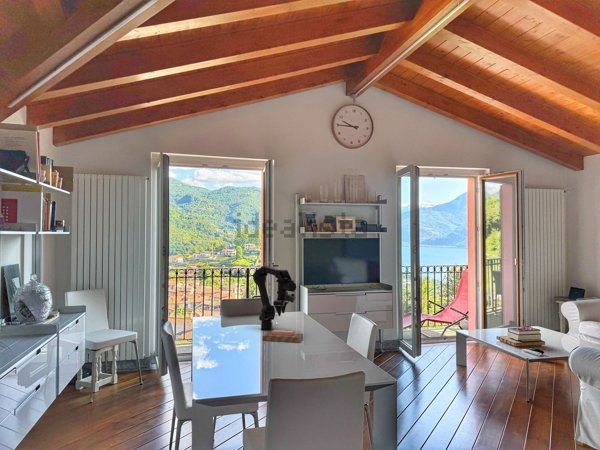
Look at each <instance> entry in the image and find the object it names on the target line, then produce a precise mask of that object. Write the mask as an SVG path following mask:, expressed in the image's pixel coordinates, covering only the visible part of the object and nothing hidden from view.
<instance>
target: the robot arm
mask: <svg viewBox="0 0 600 450" xmlns="http://www.w3.org/2000/svg"><path fill="white" fill-rule="evenodd" d="M268 274H269V275H272V276H274V277H275V278H277V279H276V280H275V283H277V291H276V294H277V298H276V299H275V300H274V301H273V303H272V304H271V303H270V299H269V295H268V290H267V287H266V281H267V276H268ZM252 279H253V282H254V283H255V284H256V285H257V288H258V293H259V297H260V302H261V305H262V307H261V313H260V315H259V317H258V320H259V321H260V322H261V323H260V324H261V325H260V326H261V327H260V331H267V332H271V330H273V322H272V321H274V320H275V316H276V313H277V314H278V317H281V315H282V314H285V311H286V308H287V305H288V304H289V303H294V302H295V300H296V297H297V296H296V294H295V293H293V292H295V291H296V290H297V284H296V283H295V280H292V277H291V275H290V272H289V270H288V269H277V268H275V267H271V266H269V265H262V266H261V267H260V268H259V269H257V270H255V272H253V273H252ZM289 292H292V293H291V294H290V293H289Z"/></svg>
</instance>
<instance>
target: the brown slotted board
mask: <svg viewBox="0 0 600 450" xmlns="http://www.w3.org/2000/svg"><path fill="white" fill-rule="evenodd" d="M303 339H304V333H297V332H296V333H295V332H294V335H293V336H288V335H273V331H266V332H265V333H264V334H263V335H262V341H263V342H264V341H265V342H276V343H277V342H278V343H279V342H280V343H294V344H295V343H296V344H300V343H301V342H302V341H303Z"/></svg>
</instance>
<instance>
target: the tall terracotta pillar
mask: <svg viewBox="0 0 600 450" xmlns="http://www.w3.org/2000/svg"><path fill="white" fill-rule="evenodd" d="M272 332H273V335H288V336H293V335H294V333H295V332H294V330H279V329H278V330H277V329H276V330H275V329H274V330H272Z"/></svg>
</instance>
